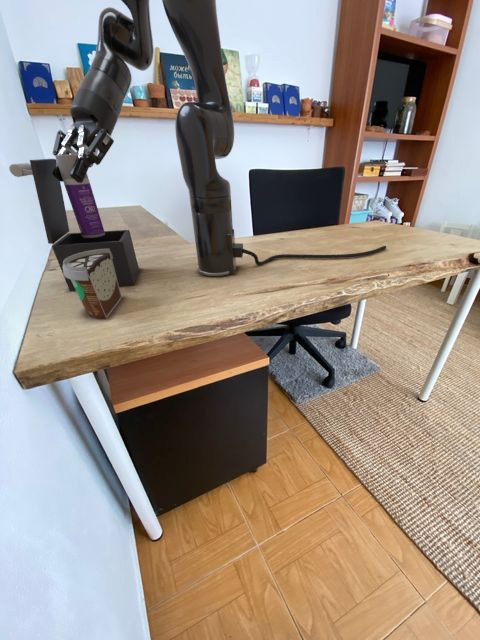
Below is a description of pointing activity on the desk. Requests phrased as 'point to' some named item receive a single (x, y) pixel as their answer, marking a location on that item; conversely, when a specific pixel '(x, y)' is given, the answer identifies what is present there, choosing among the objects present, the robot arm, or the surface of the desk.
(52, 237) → the lid
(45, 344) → the desk surface
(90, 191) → the container
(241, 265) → the desk surface
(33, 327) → the desk surface
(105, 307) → the food container
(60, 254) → the dark grey open box
